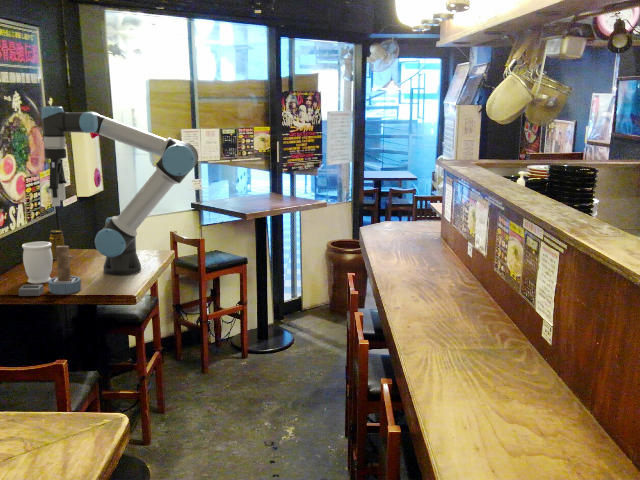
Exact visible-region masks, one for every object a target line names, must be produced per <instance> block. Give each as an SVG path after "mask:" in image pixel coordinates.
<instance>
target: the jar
mask: <svg viewBox="0 0 640 480" xmlns="http://www.w3.org/2000/svg"><path fill="white" fill-rule="evenodd" d="M50 247H51V243H50V241H41V240H40V241H39V240H38V241H29V242H25V243H23V244H22V245H21V248H22V249H23V252H22V253H23V254H22V261H23V262H22V263H23V267H24V270H25V274H26V276H27V278H28V279H27V282H28V283H30V284H32V285H41V284H45V283H48V281H49V280H50V279H52V278H51V276H50V275H51V274H52V269H53V261H54V259H53V258H52V251H51V249H50Z"/></svg>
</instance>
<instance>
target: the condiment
mask: <svg viewBox="0 0 640 480" xmlns="http://www.w3.org/2000/svg"><path fill="white" fill-rule="evenodd" d="M49 235H50V236H49V242H50V243H51V247H50V249H51V251H52V258H53V260H57V253H56V247H57V246H65V237H64V233H63V231H62V230H61V229H60V230H59V229H56V230H55V229H54V230H50V232H49ZM69 257H70V258H73V256H72V255H70V254H69Z"/></svg>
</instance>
